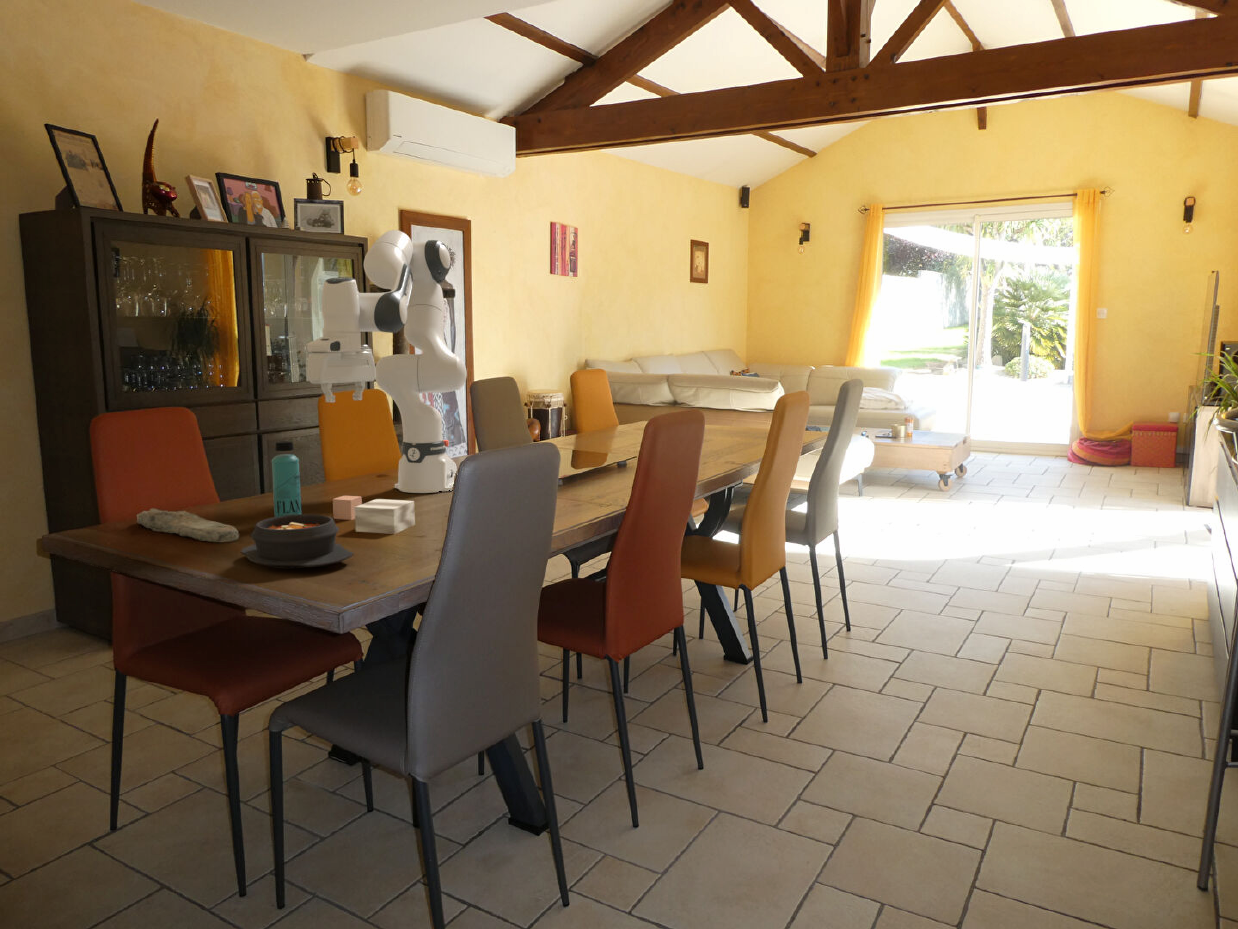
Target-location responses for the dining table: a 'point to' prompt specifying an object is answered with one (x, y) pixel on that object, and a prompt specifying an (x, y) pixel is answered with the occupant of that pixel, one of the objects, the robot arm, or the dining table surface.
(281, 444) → the beverage bottle
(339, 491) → the dining table surface
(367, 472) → the dining table surface
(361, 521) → the base block
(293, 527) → the casserole
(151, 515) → the long grey stone
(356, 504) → the terracotta block
